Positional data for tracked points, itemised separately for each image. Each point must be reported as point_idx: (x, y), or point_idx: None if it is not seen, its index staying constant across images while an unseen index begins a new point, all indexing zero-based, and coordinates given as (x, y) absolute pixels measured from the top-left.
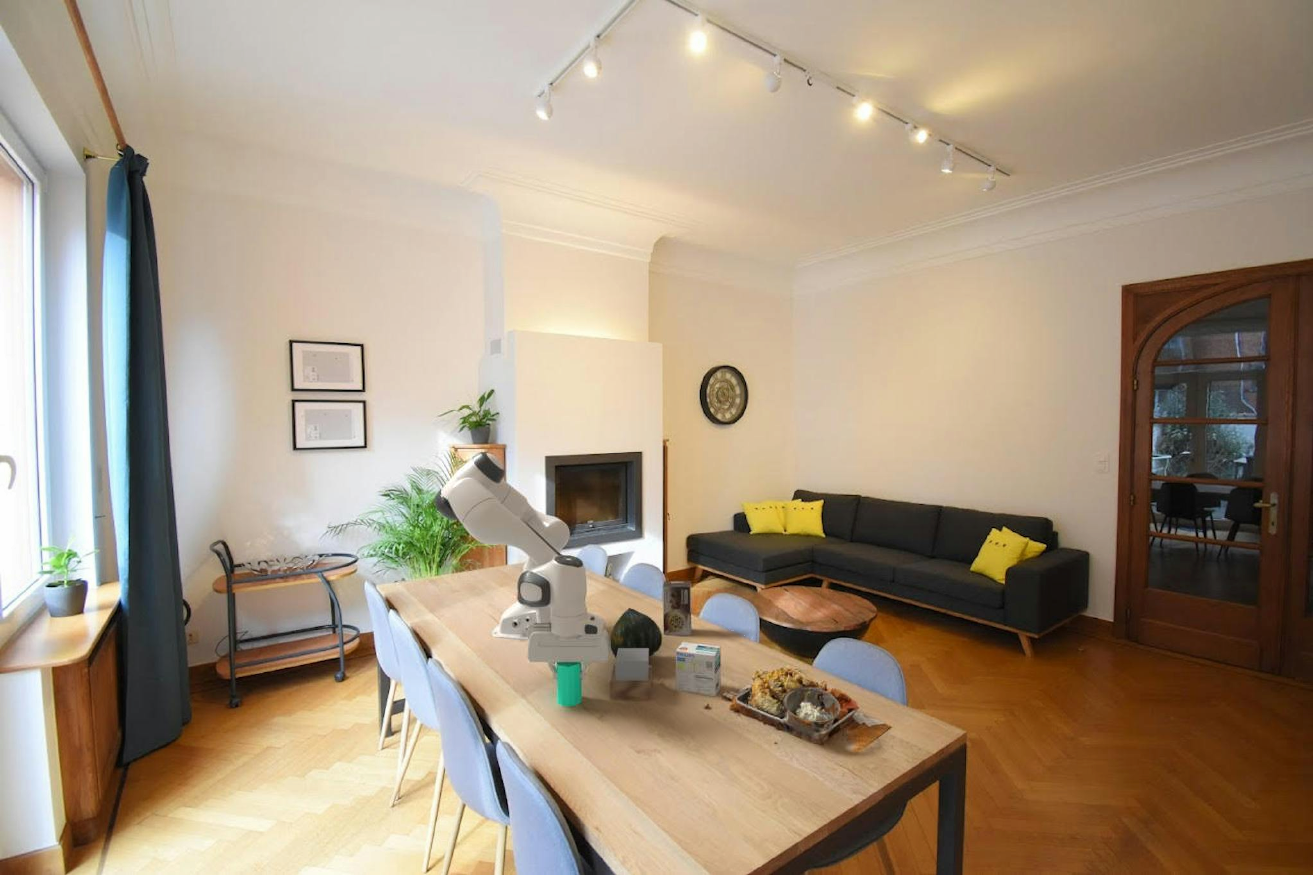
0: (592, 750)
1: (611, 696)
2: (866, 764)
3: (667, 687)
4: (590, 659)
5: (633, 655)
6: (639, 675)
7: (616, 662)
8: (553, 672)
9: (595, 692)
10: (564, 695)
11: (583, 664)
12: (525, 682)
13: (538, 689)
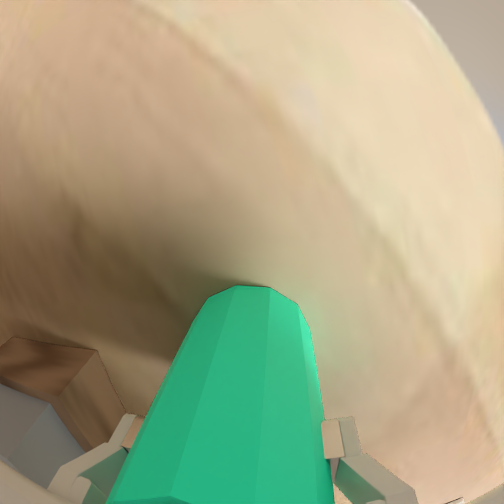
0: (72, 7)
1: (84, 359)
2: None
3: None
4: (6, 487)
5: None
6: None
7: (8, 452)
8: (358, 455)
9: None
10: (253, 323)
11: (83, 489)
12: (437, 425)
13: (400, 406)
